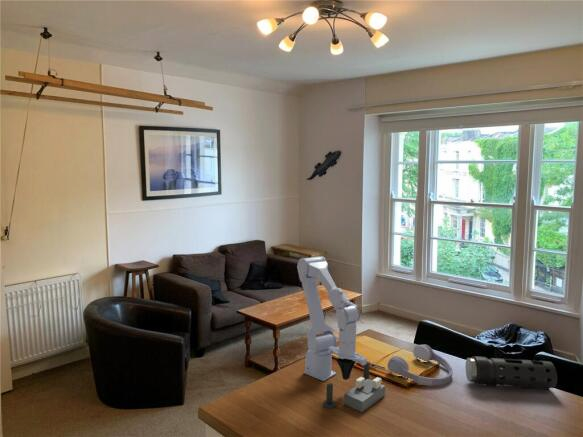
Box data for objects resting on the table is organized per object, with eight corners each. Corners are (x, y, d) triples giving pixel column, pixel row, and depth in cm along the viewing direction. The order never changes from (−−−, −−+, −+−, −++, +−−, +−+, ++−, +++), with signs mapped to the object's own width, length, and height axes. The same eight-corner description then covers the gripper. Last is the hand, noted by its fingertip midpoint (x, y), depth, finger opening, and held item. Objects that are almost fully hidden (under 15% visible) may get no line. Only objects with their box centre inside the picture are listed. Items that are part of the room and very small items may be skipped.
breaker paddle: (355, 386, 145) (355, 379, 145) (360, 383, 148) (360, 376, 147) (359, 388, 144) (359, 381, 144) (364, 385, 147) (364, 378, 146)
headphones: (384, 372, 165) (431, 396, 150) (385, 354, 164) (433, 377, 149) (416, 356, 180) (462, 376, 165) (418, 340, 179) (465, 359, 164)
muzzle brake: (556, 396, 149) (558, 367, 148) (471, 391, 152) (473, 362, 151) (543, 383, 159) (545, 356, 157) (463, 378, 162) (465, 351, 160)
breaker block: (344, 403, 142) (344, 385, 142) (367, 388, 153) (367, 371, 152) (362, 412, 138) (362, 393, 137) (384, 395, 148) (385, 377, 147)
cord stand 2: (358, 381, 157) (358, 363, 157) (364, 377, 160) (365, 359, 160) (367, 385, 155) (368, 366, 154) (373, 381, 158) (374, 362, 157)
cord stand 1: (320, 405, 141) (321, 385, 140) (328, 400, 144) (328, 380, 143) (330, 410, 139) (331, 389, 138) (337, 405, 142) (338, 384, 141)
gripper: (323, 337, 150) (322, 375, 152) (358, 350, 140) (357, 390, 142) (335, 332, 155) (334, 368, 157) (370, 343, 146) (369, 382, 147)
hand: (346, 378), depth 150 cm, fingers closed
